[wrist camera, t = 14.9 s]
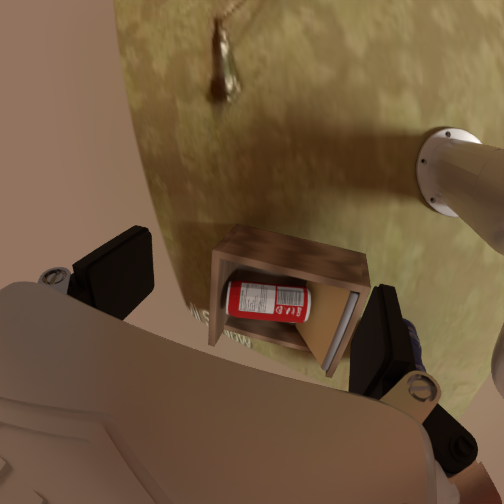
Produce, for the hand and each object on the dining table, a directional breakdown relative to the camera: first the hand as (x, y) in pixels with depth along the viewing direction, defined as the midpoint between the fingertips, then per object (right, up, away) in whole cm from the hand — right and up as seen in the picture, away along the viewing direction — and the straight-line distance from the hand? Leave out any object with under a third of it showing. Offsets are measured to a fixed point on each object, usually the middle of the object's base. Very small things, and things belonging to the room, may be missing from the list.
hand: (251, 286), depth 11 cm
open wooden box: (+6, -4, +35) cm, 36 cm away
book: (+11, -8, +30) cm, 32 cm away
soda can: (+8, -7, +31) cm, 32 cm away
